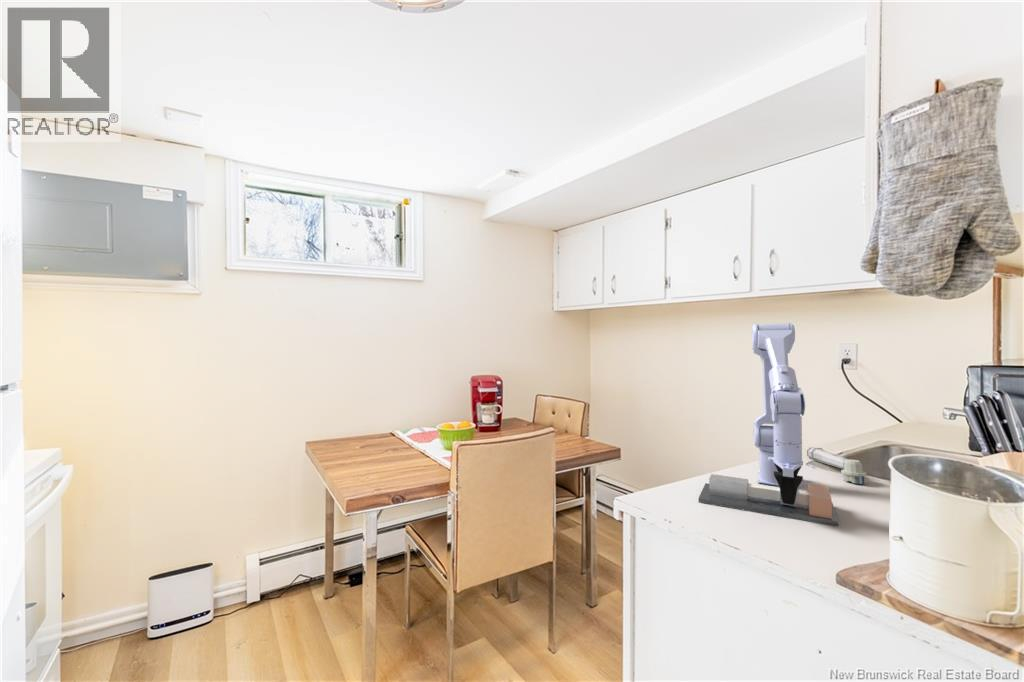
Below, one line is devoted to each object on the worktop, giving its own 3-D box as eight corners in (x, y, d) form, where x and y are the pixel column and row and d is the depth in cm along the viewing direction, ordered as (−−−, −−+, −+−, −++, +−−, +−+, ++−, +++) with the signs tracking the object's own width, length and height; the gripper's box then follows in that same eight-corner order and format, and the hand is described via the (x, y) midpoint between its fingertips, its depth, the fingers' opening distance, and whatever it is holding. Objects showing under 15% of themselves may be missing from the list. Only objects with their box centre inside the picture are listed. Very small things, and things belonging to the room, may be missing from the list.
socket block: (807, 499, 106) (807, 482, 106) (827, 502, 104) (827, 485, 104) (809, 515, 98) (809, 496, 98) (831, 518, 96) (831, 499, 95)
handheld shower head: (821, 446, 142) (870, 458, 117) (823, 467, 141) (872, 484, 116) (803, 446, 143) (848, 458, 118) (805, 467, 142) (850, 483, 117)
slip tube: (741, 492, 111) (740, 478, 111) (817, 503, 103) (817, 488, 102) (739, 497, 108) (739, 483, 107) (819, 510, 99) (818, 494, 99)
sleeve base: (705, 486, 119) (705, 468, 119) (832, 506, 104) (832, 485, 104) (698, 502, 109) (698, 482, 109) (837, 526, 94) (837, 503, 94)
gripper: (768, 433, 112) (769, 485, 112) (767, 446, 100) (767, 505, 100) (801, 436, 108) (802, 490, 109) (804, 450, 96) (805, 511, 96)
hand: (788, 498), depth 104 cm, fingers open, 7 cm apart
